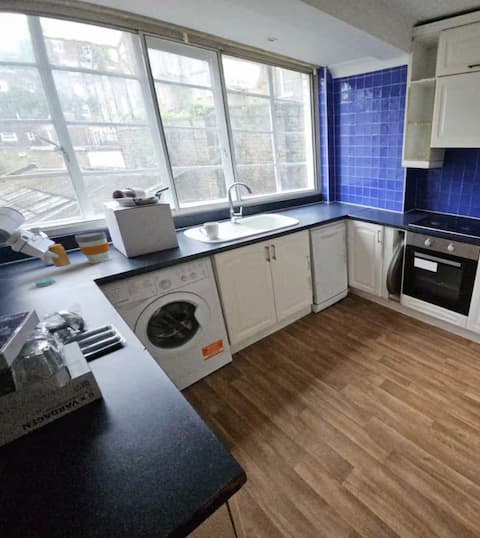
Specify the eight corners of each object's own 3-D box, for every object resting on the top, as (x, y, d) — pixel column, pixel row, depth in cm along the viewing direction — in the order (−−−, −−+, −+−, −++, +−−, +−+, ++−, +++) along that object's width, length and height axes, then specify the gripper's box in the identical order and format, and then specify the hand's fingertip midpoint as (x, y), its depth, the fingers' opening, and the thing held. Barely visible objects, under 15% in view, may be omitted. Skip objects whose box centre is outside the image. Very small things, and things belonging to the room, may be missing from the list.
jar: (54, 268, 145) (45, 248, 141) (55, 264, 149) (46, 245, 145) (70, 265, 149) (61, 245, 144) (71, 261, 153) (62, 242, 149)
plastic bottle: (52, 266, 155) (35, 229, 147) (40, 266, 155) (21, 230, 147) (64, 261, 161) (47, 226, 153) (52, 262, 161) (35, 226, 153)
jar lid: (58, 282, 136) (56, 278, 135) (40, 288, 131) (38, 284, 130) (50, 280, 138) (49, 276, 138) (33, 285, 133) (31, 282, 132)
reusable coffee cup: (85, 266, 154) (73, 239, 148) (85, 260, 162) (74, 234, 157) (115, 260, 161) (105, 233, 155) (113, 254, 170) (104, 229, 164)
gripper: (26, 239, 146) (60, 254, 155) (11, 250, 130) (50, 266, 139) (34, 229, 147) (68, 244, 155) (20, 239, 131) (59, 255, 140)
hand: (60, 254), depth 147 cm, fingers closed on jar, 6 cm apart
